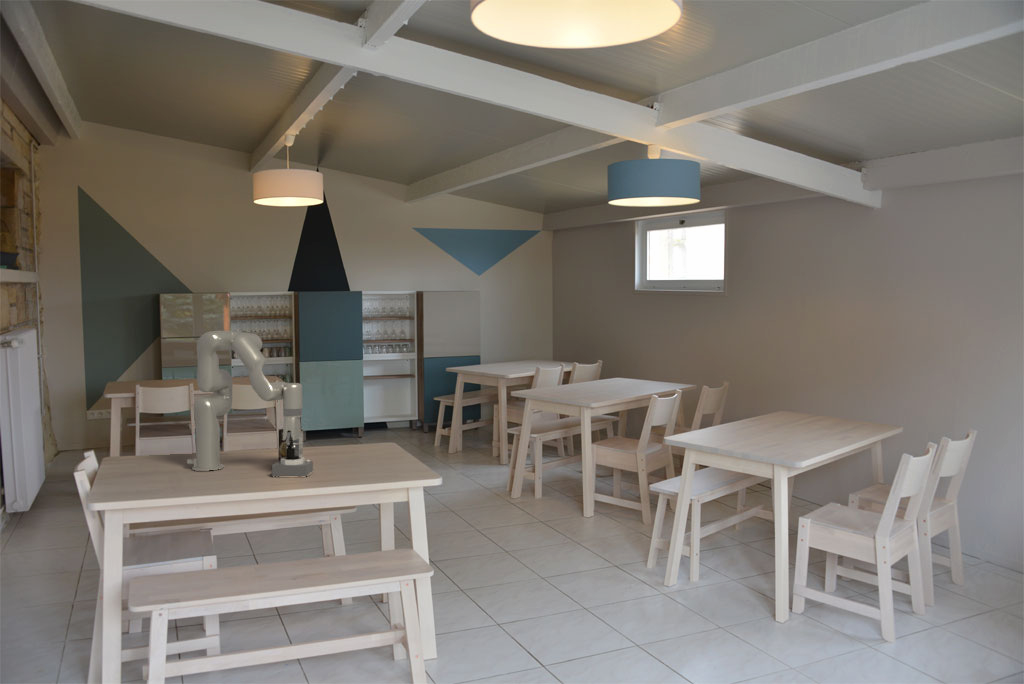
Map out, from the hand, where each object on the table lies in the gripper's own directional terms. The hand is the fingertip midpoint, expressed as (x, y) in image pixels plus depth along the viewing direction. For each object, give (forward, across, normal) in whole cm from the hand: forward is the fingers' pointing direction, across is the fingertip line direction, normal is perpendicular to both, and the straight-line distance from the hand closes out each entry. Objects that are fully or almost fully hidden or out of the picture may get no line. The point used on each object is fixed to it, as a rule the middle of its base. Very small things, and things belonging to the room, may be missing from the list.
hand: (292, 456), depth 314 cm
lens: (+1, 0, 0) cm, 1 cm away
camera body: (+8, 0, 0) cm, 8 cm away
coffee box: (+8, -21, -7) cm, 24 cm away
